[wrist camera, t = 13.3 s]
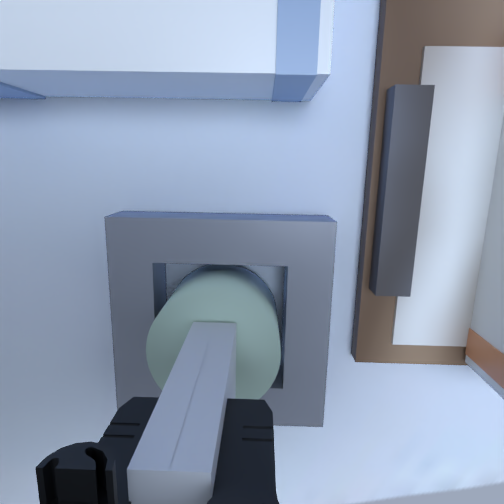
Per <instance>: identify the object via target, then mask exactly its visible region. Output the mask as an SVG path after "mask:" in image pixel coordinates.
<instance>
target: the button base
mask: <svg viewBox="0 0 504 504" xmlns="http://www.w3.org/2000/svg"><path fill="white" fill-rule="evenodd" d="M336 229H337V222H336V221H335V220H333V219H332V218H331V217H329V216H326V215H281V214H235V213H190V212H145V211H121V212H118V213H115V214H112V215H109V216H106V217H105V231H106V246H107V261H108V276H109V291H110V306H111V321H112V336H113V351H114V366H115V381H116V396H117V411H118V409H119V408H120V407H121V406H122V405H124V404H125V403H126V402H127V401H129V400H130V399H131V398H132V397H160V395H161V392H162V390H161V389H160V387H159V386H158V385H157V383H156V382H155V380H154V378H153V377H152V375H151V372H150V370H149V367H148V363H147V358H146V342H147V336H148V333H149V330H150V327H151V325H152V323H153V321H154V320H155V318H156V317H157V315H158V314H159V312H160V311H161V310H162V308H163V307H164V305H165V304H166V272H165V263H177V264H217V265H257V266H285V271H284V297H283V322H282V347H281V365H280V366H279V370H278V373H277V376H276V378H275V380H274V382H273V384H272V385H271V387H270V388H269V389H268V391H267V392H266V393H265V394H264V395H263V396H262V397H261V398H260V400H265V401H266V403H267V404H268V406H269V407H270V409H271V410H272V412H273V425H279V426H308V427H323V418H324V404H325V389H326V375H327V360H328V345H329V331H330V316H331V302H332V287H333V273H334V258H335V244H336Z"/></svg>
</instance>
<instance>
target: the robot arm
mask: <svg viewBox="0 0 504 504" xmlns="http://www.w3.org/2000/svg"><path fill="white" fill-rule="evenodd" d="M235 396H236V323H215V322H193V324H192V326H191V328H190V330H189V332H188V335H187V337H186V339H185V341H184V344H183V346H182V348H181V350H180V352H179V355H178V357H177V359H176V361H175V364H174V366H173V368H172V370H171V372H170V375H169V377H168V379H167V381H166V384H165V386H164V388H163V390H162V392H161V395H160V397H132V398H131V399H130V400H129V401H127V402H126V403H125V404H124V405H122V406H121V407H120V408H119V409H118V411H117V412H116V414H115V416H114V417H113V419H112V421H111V422H110V425H109V426H108V427H107V429H106V431H105V432H104V434H103V437H101V439H100V441H99V442H98V443H95V442H83V443H75V444H72V445H69V446H66V447H63V448H61V449H59V450H57V451H56V452H54V453H52V454H50V455H49V456H47V457H46V458H45V459H44V460H43V461H42V462H41V463H40V464H39V465H38V466H37V467H36V475H37V483H38V492H39V500H40V504H279V502H278V500H277V494H276V482H275V457H274V431H273V412H272V410H271V409H270V407H269V406H268V404H267V403H266V401H265V400H260V399H235Z"/></svg>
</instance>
